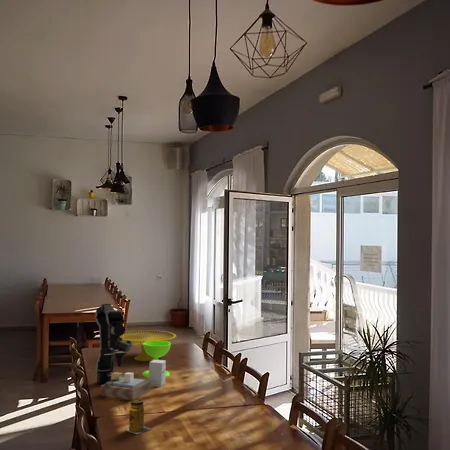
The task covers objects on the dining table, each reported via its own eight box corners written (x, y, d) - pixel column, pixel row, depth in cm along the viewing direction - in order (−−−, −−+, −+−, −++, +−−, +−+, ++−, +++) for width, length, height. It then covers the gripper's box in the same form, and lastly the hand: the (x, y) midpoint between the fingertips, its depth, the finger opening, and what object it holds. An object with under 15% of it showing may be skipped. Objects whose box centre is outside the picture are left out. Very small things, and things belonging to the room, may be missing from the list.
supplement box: (161, 387, 295) (162, 363, 295) (148, 385, 297) (148, 362, 297) (165, 383, 302) (166, 360, 303) (152, 382, 304) (153, 359, 304)
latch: (111, 379, 283) (111, 373, 283) (115, 377, 287) (115, 371, 287) (119, 380, 281) (119, 374, 281) (123, 378, 285) (123, 372, 285)
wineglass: (136, 376, 316) (137, 344, 317) (151, 370, 331) (151, 339, 332) (161, 379, 310) (162, 347, 311) (174, 373, 325) (175, 342, 325)
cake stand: (172, 366, 341) (173, 342, 341) (107, 364, 341) (108, 340, 342) (179, 352, 381) (179, 330, 381) (120, 351, 382) (121, 329, 382)
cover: (112, 385, 278) (112, 374, 278) (124, 379, 289) (124, 369, 289) (133, 387, 274) (133, 377, 274) (144, 382, 285) (145, 371, 285)
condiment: (124, 430, 229) (125, 401, 230) (140, 425, 236) (140, 396, 236) (136, 434, 225) (137, 405, 225) (151, 429, 231) (152, 400, 231)
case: (100, 395, 277) (101, 383, 277) (119, 386, 294) (119, 374, 294) (132, 400, 271) (133, 387, 271) (149, 390, 288) (150, 378, 288)
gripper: (119, 336, 270) (119, 369, 267) (137, 334, 287) (137, 365, 284) (99, 337, 273) (99, 369, 270) (118, 335, 290) (118, 366, 288)
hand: (114, 367), depth 278 cm, fingers open, 9 cm apart
